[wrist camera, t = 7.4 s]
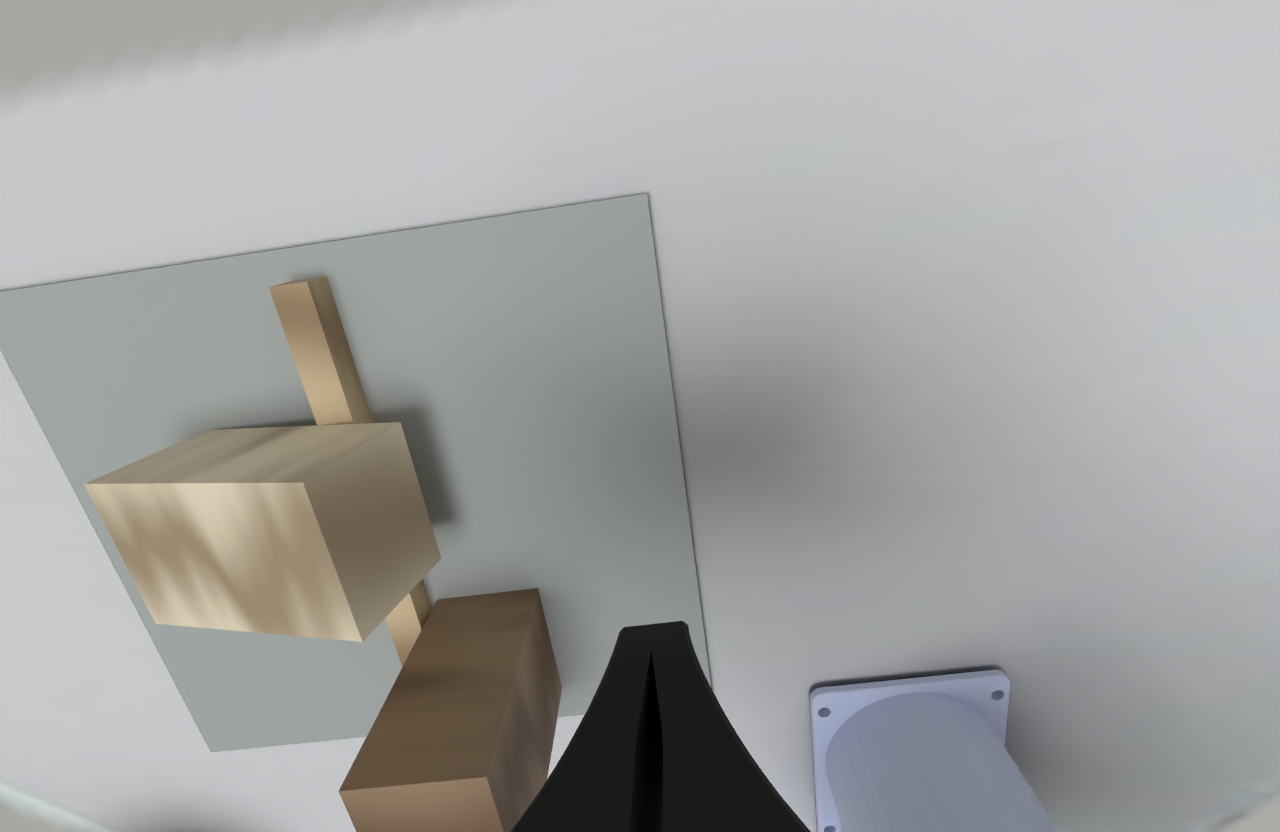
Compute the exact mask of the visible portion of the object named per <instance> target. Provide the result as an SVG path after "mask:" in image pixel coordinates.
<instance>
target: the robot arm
mask: <svg viewBox="0 0 1280 832" xmlns="http://www.w3.org/2000/svg"><path fill="white" fill-rule="evenodd" d="M994 691H996V692H994ZM1009 694H1010V680H1009V678H1008V677H1007V676H1006V674H1005V673H1004V672H1003V671H1000V670H987V671H977V672H968V673H958V674H948V675H938V676H928V677H918V678H909V679H899V680H889V681H879V682H869V683H859V684H850V685H840V686H830V687H821V688H817V689H815V690H814V691H812V693H811V694H810V714H811V732H812V749H813V766H814V784H815V801H816V818H817V832H1059V830H1058V829H1057V827H1056V826H1055V824H1054V823H1053V821H1052V820H1051V818H1050V816H1049V815H1048V813H1047V812H1046V810H1045V809H1044V807H1043V806H1042V804H1041V802H1040V801H1039V799H1038V798H1037V796H1036V795H1035V793H1034V792H1033V790H1032V789H1031V787H1030V785H1029V784H1028V782H1027V781H1026V779H1025V778H1024V776H1023V775H1022V773H1021V771H1020V770H1019V768H1018V767H1017V765H1016V764H1015V762H1014V761H1013V759H1012V757H1011V756H1010V754H1009V753H1008V751H1007V750H1006V748H1005V738H1006V727H1007V716H1008V705H1009ZM821 708H826V709H823V710H820V709H821ZM510 832H810V830H809V829H808V828H807V827H806V826H805V824H804V823H803V822H802V821H801V820H800V819H799V817H798V816H797V815H796V814H795V813H794V811H793V810H792V809H791V808H790V807H789V805H788V804H787V803H786V802H785V801H784V800H783V798H782V797H781V796H780V795H779V793H778V792H777V791H776V789H775V788H774V787H773V785H772V784H771V783H770V781H769V780H768V779H767V777H766V776H765V775H764V773H763V772H762V770H761V769H760V768H759V766H758V765H757V763H756V762H755V761H754V759H753V758H752V756H751V755H750V753H749V752H748V750H747V749H746V747H745V746H744V744H743V743H742V741H741V740H740V738H739V736H738V735H737V733H736V732H735V730H734V728H733V727H732V725H731V723H730V722H729V720H728V718H727V717H726V715H725V713H724V711H723V710H722V708H721V706H720V704H719V702H718V700H717V698H716V696H715V695H714V693H713V691H712V689H711V687H710V685H709V683H708V681H707V679H706V677H705V674H704V672H703V670H702V668H701V665H700V663H699V661H698V658H697V656H696V653H695V650H694V647H693V644H692V641H691V637H690V633H689V627H688V624H686V623H685V622H683V621H676V622H666V623H657V624H648V625H639V626H630V627H624V628H623V629H622V630H621V631H620V632H619V635H618V638H617V641H616V644H615V647H614V650H613V653H612V655H611V658H610V661H609V663H608V666H607V668H606V670H605V673H604V675H603V678H602V680H601V682H600V684H599V686H598V688H597V691H596V693H595V695H594V697H593V699H592V701H591V703H590V706H589V708H588V710H587V712H586V714H585V716H584V717H583V719H582V721H581V723H580V725H579V727H578V728H577V730H576V732H575V734H574V736H573V738H572V739H571V741H570V743H569V745H568V747H567V748H566V750H565V752H564V754H563V755H562V757H561V759H560V760H559V762H558V764H557V765H556V767H555V768H554V770H553V772H552V773H551V775H550V776H549V778H548V779H547V781H546V782H545V784H544V785H543V787H542V788H541V790H540V791H539V793H538V794H537V796H536V797H535V798H534V800H533V801H532V803H531V804H530V805H529V807H528V808H527V809H526V811H525V812H524V814H523V815H522V816H521V818H520V819H519V821H518V822H517V823H516V825H515V826H514V827H513V828H512V830H511V831H510Z"/></svg>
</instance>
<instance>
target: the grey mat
mask: <svg viewBox="0 0 1280 832" xmlns="http://www.w3.org/2000/svg"><path fill="white" fill-rule="evenodd" d="M324 276H327V278H328V281H329V285H330V288H331V291H332V294H333V297H334V300H335V303H336V307H337V310H338V313H339V316H340V319H341V322H342V326H343V329H344V332H345V335H346V338H347V341H348V344H349V348H350V351H351V354H352V357H353V360H354V363H355V367H356V370H357V373H358V376H359V379H360V382H361V385H362V389H363V392H364V395H365V398H366V401H367V404H368V408H369V411H370V414H371V417H372V420H373V423H391V422H401V426H402V429H403V432H404V436H405V439H406V442H407V446H408V449H409V452H410V456H411V459H412V462H413V466H414V469H415V472H416V476H417V479H418V482H419V486H420V489H421V492H422V496H423V499H424V502H425V506H426V509H427V512H428V516H429V519H430V522H431V526H432V529H433V532H434V535H435V539H436V542H437V545H438V549H439V552H440V555H441V560H440V561H439V562H438V563H437V564H436V565H435V566H434V567H433V568H432V569H431V570H430V571H429V572H428V573H427V574H426V576H425V577H424V578H423V581H424V584H425V587H426V591H427V594H428V597H429V600H430V603H431V606H432V608H433V607H434V605H435V603H436V601H437V599H446V598H454V597H463V596H472V595H481V594H489V593H498V592H507V591H516V590H524V589H533V588H538V590H539V594H540V598H541V602H542V606H543V611H544V615H545V619H546V623H547V627H548V631H549V636H550V640H551V644H552V648H553V652H554V656H555V661H556V665H557V669H558V673H559V677H560V681H561V686H562V692H561V698H560V704H559V710H558V716H557V717H563V716H573V715H583V714H586V712H587V710H588V708H589V706H590V703H591V701H592V699H593V697H594V695H595V693H596V691H597V688H598V686H599V684H600V682H601V680H602V678H603V675H604V673H605V670H606V668H607V666H608V663H609V661H610V658H611V655H612V653H613V650H614V647H615V644H616V641H617V638H618V635H619V632H620V631H621V630H622V629H623V628H624V627H630V626H639V625H648V624H657V623H666V622H676V621H683V622H685V623H686V624H688V627H689V633H690V637H691V641H692V644H693V647H694V650H695V653H696V656H697V658H698V661H699V663H700V665H701V668H702V670H703V672H704V674H705V677H706V679H707V681H708V683H709V685H710V687H711V682H710V674H709V666H708V658H707V651H706V643H705V635H704V628H703V620H702V612H701V605H700V597H699V589H698V581H697V574H696V566H695V558H694V551H693V543H692V535H691V528H690V520H689V512H688V504H687V497H686V489H685V481H684V474H683V466H682V458H681V450H680V443H679V435H678V427H677V420H676V412H675V404H674V397H673V389H672V381H671V373H670V366H669V358H668V350H667V343H666V335H665V327H664V320H663V312H662V304H661V296H660V289H659V281H658V273H657V266H656V258H655V250H654V243H653V235H652V227H651V219H650V212H649V204H648V196H647V194H641V195H634V196H628V197H621V198H615V199H608V200H602V201H595V202H588V203H582V204H575V205H569V206H562V207H555V208H549V209H542V210H536V211H529V212H522V213H516V214H509V215H503V216H496V217H489V218H483V219H476V220H470V221H463V222H456V223H450V224H443V225H437V226H430V227H424V228H417V229H410V230H404V231H397V232H391V233H384V234H377V235H371V236H364V237H358V238H351V239H344V240H338V241H331V242H325V243H318V244H311V245H305V246H298V247H292V248H285V249H278V250H272V251H265V252H259V253H252V254H246V255H239V256H232V257H226V258H219V259H213V260H206V261H199V262H193V263H186V264H180V265H173V266H166V267H160V268H153V269H147V270H140V271H133V272H127V273H120V274H114V275H107V276H100V277H94V278H87V279H81V280H74V281H68V282H61V283H54V284H48V285H41V286H35V287H28V288H21V289H15V290H8V291H2V292H0V350H1V352H2V354H3V356H4V358H5V360H6V362H7V364H8V365H9V367H10V369H11V371H12V373H13V375H14V377H15V379H16V381H17V383H18V385H19V387H20V388H21V390H22V392H23V394H24V396H25V398H26V400H27V402H28V404H29V406H30V408H31V409H32V411H33V413H34V415H35V417H36V419H37V421H38V423H39V425H40V427H41V429H42V430H43V432H44V434H45V436H46V438H47V440H48V442H49V444H50V446H51V448H52V450H53V451H54V453H55V455H56V457H57V459H58V461H59V463H60V465H61V467H62V469H63V471H64V472H65V474H66V476H67V478H68V480H69V482H70V484H71V486H72V488H73V490H74V492H75V493H76V495H77V497H78V499H79V501H80V503H81V505H82V507H83V509H84V511H85V513H86V515H87V516H88V518H89V520H90V522H91V524H92V526H93V528H94V530H95V532H96V534H97V536H98V537H99V539H100V541H101V543H102V545H103V547H104V549H105V551H106V553H107V555H108V557H109V558H110V560H111V562H112V564H113V566H114V568H115V570H116V572H117V574H118V576H119V578H120V579H121V581H122V583H123V585H124V587H125V589H126V591H127V593H128V595H129V597H130V599H131V600H132V602H133V604H134V606H135V608H136V610H137V612H138V614H139V616H140V618H141V620H142V621H143V623H144V625H145V627H146V629H147V631H148V633H149V635H150V637H151V639H152V641H153V642H154V644H155V646H156V648H157V650H158V652H159V654H160V656H161V658H162V660H163V662H164V664H165V665H166V667H167V669H168V671H169V673H170V675H171V677H172V679H173V681H174V683H175V685H176V686H177V688H178V690H179V692H180V694H181V696H182V698H183V700H184V702H185V704H186V706H187V707H188V709H189V711H190V713H191V715H192V717H193V719H194V721H195V723H196V725H197V727H198V728H199V730H200V732H201V734H202V736H203V738H204V740H205V742H206V744H207V746H208V748H209V749H210V751H211V752H219V751H228V750H238V749H248V748H258V747H268V746H278V745H288V744H297V743H307V742H317V741H327V740H337V739H347V738H357V737H366V736H367V735H368V733H369V731H370V730H371V728H372V726H373V724H374V722H375V720H376V718H377V716H378V714H379V712H380V710H381V708H382V706H383V704H384V702H385V700H386V698H387V696H388V694H389V692H390V690H391V689H392V687H393V685H394V683H395V681H396V679H397V677H398V675H399V673H400V671H401V669H402V665H401V662H400V659H399V656H398V653H397V650H396V647H395V645H394V642H393V639H392V636H391V633H390V630H389V628H388V625H387V622H386V619H384V620H383V621H382V622H381V623H380V624H379V625H378V626H377V627H376V628H375V629H374V630H373V631H372V632H371V633H370V635H369V636H368V637H367V638H366V639H365V640H364V641H363V642H358V641H347V640H335V639H324V638H312V637H301V636H290V635H278V634H267V633H256V632H244V631H233V630H221V629H210V628H199V627H187V626H176V625H164V624H156V623H155V621H154V619H153V617H152V615H151V613H150V611H149V610H148V608H147V606H146V604H145V602H144V600H143V598H142V596H141V594H140V592H139V590H138V588H137V586H136V584H135V582H134V580H133V578H132V577H131V575H130V573H129V571H128V569H127V567H126V565H125V563H124V561H123V559H122V557H121V555H120V553H119V551H118V549H117V547H116V545H115V543H114V542H113V540H112V538H111V536H110V534H109V532H108V530H107V528H106V526H105V524H104V522H103V520H102V518H101V516H100V514H99V512H98V510H97V509H96V507H95V505H94V503H93V501H92V499H91V497H90V495H89V493H88V491H87V489H86V487H85V485H84V484H85V483H87V482H89V481H92V480H94V479H96V478H99V477H101V476H103V475H105V474H108V473H110V472H112V471H115V470H117V469H119V468H121V467H124V466H126V465H128V464H131V463H133V462H135V461H138V460H140V459H142V458H144V457H147V456H149V455H151V454H154V453H156V452H158V451H160V450H163V449H165V448H167V447H170V446H172V445H174V444H177V443H179V442H181V441H183V440H186V439H188V438H190V437H193V436H195V435H197V434H199V433H202V432H204V431H206V430H218V429H243V428H267V427H292V426H317V423H316V420H315V417H314V415H313V412H312V409H311V406H310V403H309V400H308V398H307V395H306V392H305V389H304V386H303V383H302V381H301V378H300V375H299V372H298V369H297V366H296V363H295V361H294V358H293V355H292V352H291V349H290V346H289V344H288V341H287V338H286V335H285V332H284V329H283V327H282V324H281V321H280V318H279V315H278V312H277V310H276V307H275V304H274V301H273V298H272V295H271V293H270V290H269V287H271V286H275V285H279V284H283V283H287V282H291V281H297V280H304V279H311V278H318V277H324Z"/></svg>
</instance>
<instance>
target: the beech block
mask: <svg viewBox="0 0 1280 832" xmlns="http://www.w3.org/2000/svg"><path fill="white" fill-rule="evenodd" d="M84 485H85V487H86V489H87V491H88V493H89V495H90V497H91V499H92V501H93V503H94V505H95V507H96V509H97V510H98V512H99V514H100V516H101V518H102V520H103V522H104V524H105V526H106V528H107V530H108V532H109V534H110V536H111V538H112V540H113V542H114V543H115V545H116V547H117V549H118V551H119V553H120V555H121V557H122V559H123V561H124V563H125V565H126V567H127V569H128V571H129V573H130V575H131V577H132V578H133V580H134V582H135V584H136V586H137V588H138V590H139V592H140V594H141V596H142V598H143V600H144V602H145V604H146V606H147V608H148V610H149V611H150V613H151V615H152V617H153V619H154V621H155V623H156V624H164V625H176V626H187V627H199V628H210V629H221V630H233V631H244V632H256V633H267V634H278V635H290V636H301V637H312V638H324V639H335V640H347V641H358V642H363V641H364V640H365V639H366V638H367V637H368V636H369V635H370V633H371V632H372V631H373V630H374V629H375V628H376V627H377V626H378V625H379V624H380V623H381V622H382V621H383V620H384V619H385V618H386V617H387V616H388V615H389V613H390V612H391V611H392V610H393V609H394V608H395V607H396V606H397V605H398V604H399V603H400V602H401V601H402V600H403V599H404V598H405V597H406V596H407V595H408V593H409V592H410V591H411V590H412V589H413V588H414V587H415V586H416V585H417V584H418V583H419V582H420V581H421V580H422V579H423V578H424V577H425V576H426V574H427V573H428V572H429V571H430V570H431V569H432V568H433V567H434V566H435V565H436V564H437V563H438V562H439V561H440V560H441V555H440V552H439V549H438V545H437V542H436V539H435V535H434V532H433V529H432V526H431V522H430V519H429V516H428V512H427V509H426V506H425V502H424V499H423V496H422V492H421V489H420V486H419V482H418V479H417V476H416V472H415V469H414V466H413V462H412V459H411V456H410V452H409V449H408V446H407V442H406V439H405V436H404V432H403V429H402V426H401V422H391V423H366V424H341V425H317V426H292V427H267V428H243V429H218V430H206V431H204V432H202V433H199V434H197V435H195V436H193V437H190V438H188V439H186V440H183V441H181V442H179V443H177V444H174V445H172V446H170V447H167V448H165V449H163V450H160V451H158V452H156V453H154V454H151V455H149V456H147V457H144V458H142V459H140V460H138V461H135V462H133V463H131V464H128V465H126V466H124V467H121V468H119V469H117V470H115V471H112V472H110V473H108V474H105V475H103V476H101V477H99V478H96V479H94V480H92V481H89V482H87V483H85V484H84Z"/></svg>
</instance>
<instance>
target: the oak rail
mask: <svg viewBox="0 0 1280 832" xmlns="http://www.w3.org/2000/svg"><path fill="white" fill-rule="evenodd" d="M269 290H270V293H271V295H272V298H273V301H274V304H275V307H276V310H277V312H278V315H279V318H280V321H281V324H282V327H283V329H284V332H285V335H286V338H287V341H288V344H289V346H290V349H291V352H292V355H293V358H294V361H295V363H296V366H297V369H298V372H299V375H300V378H301V381H302V383H303V386H304V389H305V392H306V395H307V398H308V400H309V403H310V406H311V409H312V412H313V415H314V417H315V420H316V423H317V425H341V424H366V423H373V420H372V417H371V414H370V411H369V408H368V404H367V401H366V398H365V395H364V392H363V389H362V385H361V382H360V379H359V376H358V373H357V370H356V367H355V363H354V360H353V357H352V354H351V351H350V348H349V344H348V341H347V338H346V335H345V332H344V329H343V326H342V322H341V319H340V316H339V313H338V310H337V307H336V303H335V300H334V297H333V294H332V291H331V288H330V285H329V281H328V278H327V276H324V277H318V278H311V279H304V280H297V281H291V282H287V283H283V284H279V285H275V286H271V287H269ZM431 610H432V606H431V603H430V600H429V597H428V594H427V591H426V587H425V584H424V581H423V579H422V580H421V581H420V582H419V583H418V584H417V585H416V586H415V587H414V588H413V589H412V590H411V591H410V592H409V593H408V595H407V596H406V597H405V598H404V599H403V600H402V601H401V602H400V603H399V604H398V605H397V606H396V607H395V608H394V609H393V610H392V611H391V612H390V613H389V615H388V616H387V617H386V618H385V619H386V622H387V625H388V628H389V630H390V633H391V636H392V639H393V642H394V645H395V647H396V650H397V653H398V656H399V659H400V662H401V665H402V667H403V665H404V663H405V661H406V659H407V657H408V655H409V653H410V651H411V649H412V648H413V646H414V644H415V642H416V640H417V638H418V636H419V634H420V632H421V630H422V628H423V626H424V624H425V622H426V620H427V618H428V616H429V614H430V612H431Z"/></svg>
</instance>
